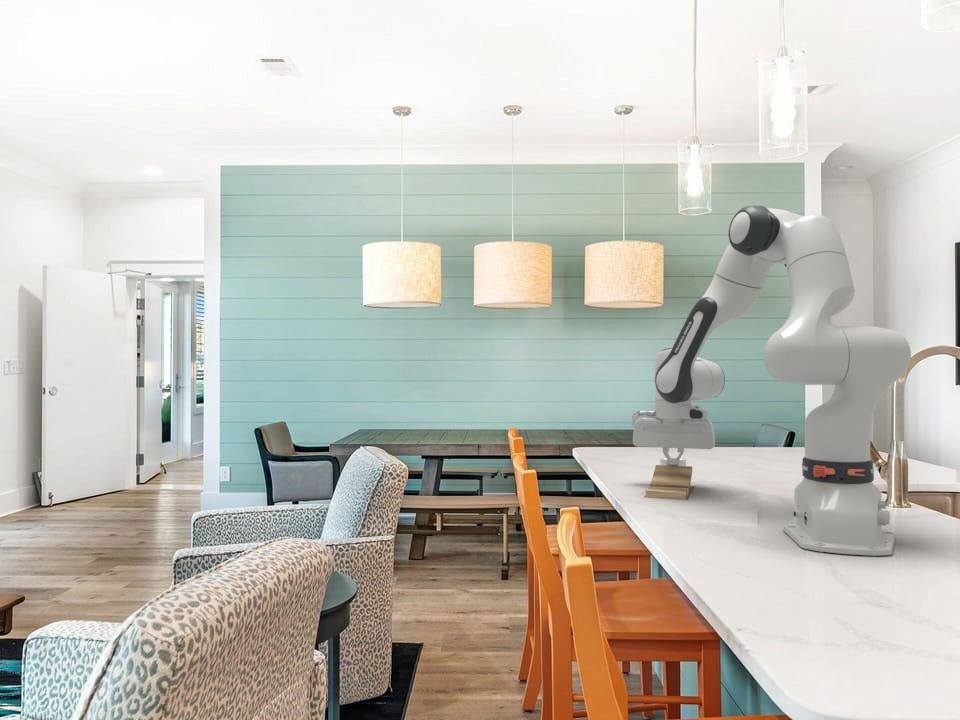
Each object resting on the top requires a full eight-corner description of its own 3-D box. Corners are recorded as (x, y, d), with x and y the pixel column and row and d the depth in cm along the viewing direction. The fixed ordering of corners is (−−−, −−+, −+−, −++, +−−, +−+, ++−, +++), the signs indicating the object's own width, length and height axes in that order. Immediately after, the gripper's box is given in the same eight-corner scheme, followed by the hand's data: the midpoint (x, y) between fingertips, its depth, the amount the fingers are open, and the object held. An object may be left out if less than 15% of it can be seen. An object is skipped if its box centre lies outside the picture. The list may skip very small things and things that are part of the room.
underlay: (687, 504, 167) (687, 499, 167) (643, 501, 170) (643, 497, 170) (694, 489, 185) (694, 485, 185) (655, 487, 189) (655, 483, 189)
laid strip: (685, 499, 167) (685, 491, 167) (645, 497, 170) (645, 489, 170) (688, 494, 173) (688, 487, 173) (650, 492, 177) (649, 485, 177)
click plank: (688, 493, 174) (688, 486, 173) (650, 491, 177) (649, 485, 177) (692, 471, 185) (692, 465, 184) (656, 470, 188) (655, 464, 187)
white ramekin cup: (658, 482, 197) (658, 456, 197) (684, 483, 196) (684, 457, 196) (661, 486, 190) (661, 460, 190) (688, 487, 189) (688, 460, 189)
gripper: (629, 411, 185) (630, 465, 185) (713, 412, 178) (714, 469, 178) (633, 409, 191) (634, 462, 191) (715, 411, 184) (715, 465, 184)
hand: (673, 465), depth 185 cm, fingers closed
